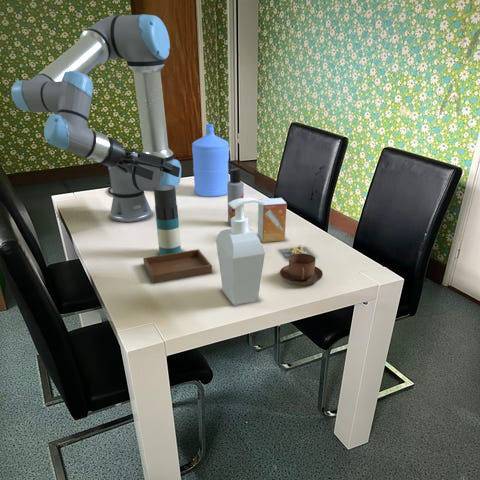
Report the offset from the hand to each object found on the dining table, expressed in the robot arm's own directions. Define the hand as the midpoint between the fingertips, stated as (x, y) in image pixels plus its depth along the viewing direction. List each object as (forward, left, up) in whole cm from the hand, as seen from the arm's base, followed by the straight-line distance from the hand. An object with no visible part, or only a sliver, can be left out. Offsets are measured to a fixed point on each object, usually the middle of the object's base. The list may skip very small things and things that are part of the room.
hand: (165, 174), depth 143 cm
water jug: (-51, +32, -23) cm, 64 cm away
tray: (+20, -3, -23) cm, 31 cm away
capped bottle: (+8, -2, -23) cm, 24 cm away
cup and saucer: (+40, +28, -23) cm, 54 cm away
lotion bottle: (-9, +27, -23) cm, 36 cm away
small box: (+9, +33, -23) cm, 41 cm away
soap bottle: (+43, +9, -23) cm, 49 cm away
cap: (+8, -2, -11) cm, 14 cm away
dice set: (+24, +35, -23) cm, 48 cm away
